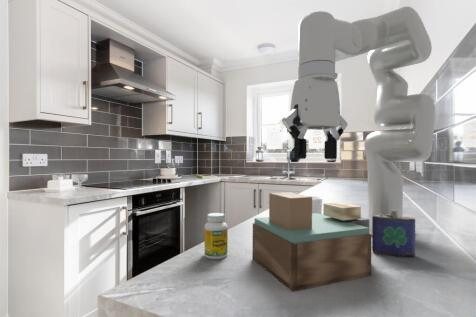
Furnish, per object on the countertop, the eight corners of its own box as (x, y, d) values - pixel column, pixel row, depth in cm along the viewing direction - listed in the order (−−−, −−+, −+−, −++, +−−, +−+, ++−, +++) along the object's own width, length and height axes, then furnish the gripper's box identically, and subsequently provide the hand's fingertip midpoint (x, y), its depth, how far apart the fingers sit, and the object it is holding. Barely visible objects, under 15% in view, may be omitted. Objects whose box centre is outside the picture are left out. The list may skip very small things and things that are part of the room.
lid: (317, 217, 67) (318, 188, 67) (369, 233, 53) (369, 197, 53) (254, 223, 60) (254, 191, 60) (293, 243, 46) (293, 201, 46)
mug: (300, 224, 93) (300, 194, 93) (325, 228, 88) (326, 197, 88) (286, 231, 85) (286, 198, 85) (313, 236, 79) (314, 201, 79)
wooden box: (333, 247, 69) (334, 210, 69) (389, 271, 54) (389, 224, 54) (252, 259, 61) (252, 216, 61) (292, 291, 46) (292, 235, 46)
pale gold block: (340, 213, 64) (340, 202, 64) (360, 218, 58) (360, 206, 58) (323, 214, 62) (323, 203, 62) (342, 220, 56) (342, 208, 56)
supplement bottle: (220, 250, 66) (220, 211, 66) (231, 257, 62) (232, 215, 62) (200, 254, 63) (200, 213, 63) (211, 261, 59) (211, 217, 59)
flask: (413, 254, 65) (413, 209, 65) (417, 258, 62) (418, 211, 62) (371, 250, 67) (371, 207, 67) (373, 254, 64) (373, 209, 64)
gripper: (336, 84, 64) (335, 159, 64) (271, 75, 58) (271, 158, 58) (361, 75, 57) (360, 159, 57) (291, 64, 51) (290, 158, 51)
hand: (315, 158), depth 57 cm, fingers open, 7 cm apart
